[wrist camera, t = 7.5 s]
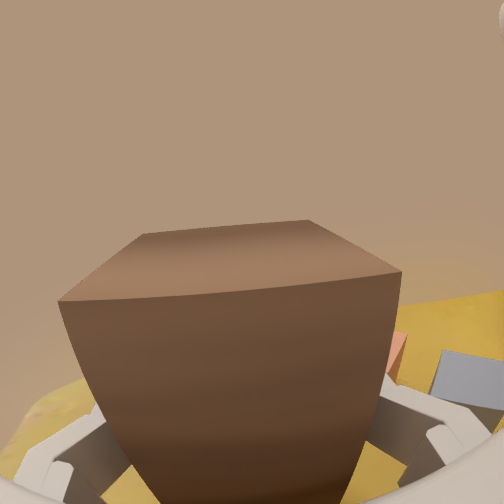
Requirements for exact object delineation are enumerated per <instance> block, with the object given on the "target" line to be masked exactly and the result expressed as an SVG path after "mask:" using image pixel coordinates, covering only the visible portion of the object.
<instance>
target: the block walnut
mask: <svg viewBox="0 0 504 504" xmlns="http://www.w3.org/2000/svg"><path fill="white" fill-rule="evenodd" d="M401 276H402V271H400V270H398V269H397V268H395V267H393V266H392V265H390V264H388V263H386V262H385V261H383V260H381V259H379V258H378V257H376V256H374V255H372V254H371V253H369V252H367V251H365V250H363V249H361V248H360V247H358V246H356V245H354V244H353V243H351V242H349V241H347V240H345V239H343V238H342V237H340V236H338V235H336V234H334V233H332V232H330V231H329V230H327V229H325V228H323V227H321V226H319V225H317V224H315V223H313V222H311V221H309V220H301V221H285V222H273V223H272V222H271V223H259V224H245V225H233V226H221V227H209V228H199V229H188V230H177V231H167V232H157V233H148V234H142V235H141V236H139V237H138V238H137V239H135V240H134V241H133V242H131V243H130V244H129V245H127V246H126V247H125V248H123V249H122V250H121V251H119V252H118V253H117V254H115V255H114V256H113V257H112V258H110V259H109V260H108V261H106V262H105V263H104V264H102V265H101V266H100V267H99V268H97V269H96V270H95V271H93V272H92V273H91V274H90V275H89V276H87V277H86V278H85V279H84V280H82V281H81V282H80V283H79V284H77V285H76V286H75V287H74V288H73V289H71V290H70V291H69V292H68V293H67V294H65V295H64V296H63V297H62V298H61V299H60V300H58V305H59V308H60V312H61V315H62V318H63V321H64V324H65V327H66V330H67V333H68V336H69V339H70V342H71V344H72V347H73V350H74V352H75V355H76V357H77V360H78V362H79V365H80V367H81V370H82V372H83V374H84V377H85V379H86V381H87V383H88V386H89V388H90V390H91V392H92V394H93V396H94V398H95V400H96V402H97V404H98V406H99V408H100V410H101V412H102V414H103V416H104V418H105V420H106V422H107V423H108V425H109V427H110V429H111V431H112V432H113V434H114V436H115V438H116V439H117V441H118V443H119V444H120V446H121V448H122V449H123V451H124V452H125V454H126V456H127V457H128V459H129V460H130V462H131V463H132V465H133V466H134V468H135V469H136V471H137V472H138V474H139V475H140V476H141V478H142V479H143V481H144V482H145V483H146V485H147V486H148V488H149V489H150V490H151V492H152V493H153V494H154V495H155V497H156V498H157V499H158V501H159V502H160V503H161V504H340V502H341V500H342V498H343V495H344V493H345V491H346V489H347V487H348V484H349V482H350V480H351V477H352V475H353V472H354V470H355V468H356V465H357V462H358V460H359V457H360V455H361V452H362V449H363V446H364V444H365V441H366V438H367V435H368V432H369V429H370V426H371V423H372V419H373V416H374V413H375V409H376V406H377V403H378V399H379V395H380V392H381V388H382V384H383V380H384V376H385V372H386V367H387V363H388V358H389V354H390V349H391V344H392V338H393V333H394V327H395V321H396V315H397V308H398V301H399V294H400V285H401Z"/></svg>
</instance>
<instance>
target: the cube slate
mask: <svg viewBox="0 0 504 504" xmlns="http://www.w3.org/2000/svg"><path fill="white" fill-rule="evenodd" d="M428 395H430V396H433V397H436V398H439V399H442V400H445V401H448V402H451V403H454V404H457V405H460V406H463V407H466V408H469V409H470V411H471V412H472V413H473V414H474V415H475V416H476V417H477V418H478V419H479V420H480V422H481V423H482V424H483V425H484V426H485V427H486V428H487V429H488V431H489V432H490V433H491V434H492V433H493V431H494V430H495V428H496V426H497V425H498V423H499V422H500V420H501V418H502V417H503V415H504V361H499V360H494V359H488V358H483V357H478V356H472V355H467V354H462V353H457V352H452V351H448V350H443V351H442V354H441V358H440V361H439V364H438V367H437V370H436V373H435V376H434V379H433V381H432V384H431V387H430V389H429V392H428Z"/></svg>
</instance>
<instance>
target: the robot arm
mask: <svg viewBox="0 0 504 504" xmlns="http://www.w3.org/2000/svg"><path fill="white" fill-rule="evenodd" d="M499 26H500V32H501V36H502V39H503V42H504V3H503V5H502V6H501V10H500V14H499ZM366 441H368V442H369V443H371V444H372V445H374V446H376V447H377V448H379V449H380V450H382V451H383V452H385V453H387V454H388V455H390V456H391V457H393V458H395V459H396V460H398V461H400V462H401V463H403V464H405V465H406V466H407V468H406V469H405V471H404V473H403V474H402V476H401V477H400V479H399V481H398V482H397V483H398V485H399V487H400V488H399V489H397V490H394V491H392V492H389V493H387V494H384V495H381V496H379V497H376V498H373V499H370V500H368V501H365V502H362V503H359V504H504V427H503V428H502V429H500V430H499V431H498V432H496V433H495V434H494V435H492V434H491V433H490V432H489V431H488V429H487V428H486V427H485V426H484V425H483V424H482V423H481V422H480V420H479V419H478V418H477V417H476V416H475V415H474V414H473V413H472V412H471V411H470V409H469V408H466V407H463V406H460V405H457V404H454V403H451V402H448V401H445V400H442V399H439V398H436V397H433V396H430V395H427V394H425V393H422V392H419V391H416V390H414V389H411V388H408V387H406V386H403V385H399V386H396V385H395V383H394V382H393V381H392V379H391V378H390V377H389V376H388V374H387V373H386V372H385V376H384V380H383V384H382V388H381V392H380V395H379V399H378V403H377V406H376V409H375V413H374V416H373V419H372V423H371V426H370V429H369V432H368V435H367V438H366ZM131 464H132V463H131V462H130V460H129V459H128V457H127V456H126V454H125V452H124V451H123V449H122V448H121V446H120V444H119V443H118V441H117V439H116V438H115V436H114V434H113V432H112V431H111V429H110V427H109V425H108V423H107V422H106V420H105V418H104V416H103V414H102V412H101V410H100V408H99V406H98V404H97V402H96V403H95V405H94V407H93V409H92V411H91V414H90V415H88V414H85V415H84V416H82V417H81V418H79V419H77V420H76V421H74V422H73V423H71V424H70V425H68V426H66V427H65V428H63V429H62V430H60V431H58V432H57V433H55V434H54V435H52V436H50V437H49V438H47V439H45V440H44V441H42V442H40V443H39V444H37V445H35V446H34V447H32V448H30V449H29V450H28V452H27V454H26V455H25V457H24V459H23V461H22V463H21V465H20V467H19V469H18V471H17V473H16V475H15V477H14V480H13V481H11V480H9V479H7V478H5V477H3V476H1V475H0V504H108V503H107V502H105V501H104V500H103V499H102V498H101V497H100V496H101V495H102V494H103V493H104V492H105V491H106V490H107V489H108V488H109V487H110V486H111V485H112V484H113V483H114V482H115V481H116V480H117V479H118V478H119V477H120V476H121V475H122V474H123V473H124V472H125V471H126V470H127V469H128V467H129V466H130V465H131Z"/></svg>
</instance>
